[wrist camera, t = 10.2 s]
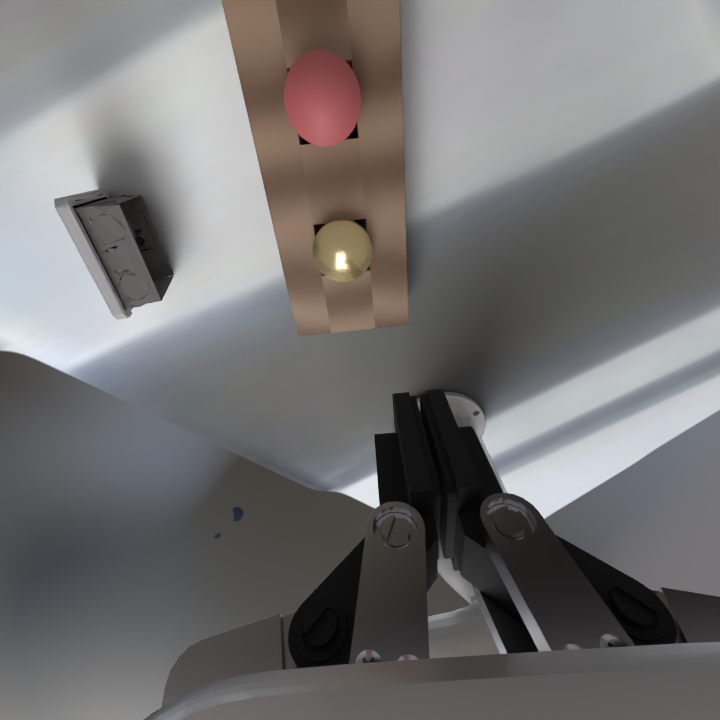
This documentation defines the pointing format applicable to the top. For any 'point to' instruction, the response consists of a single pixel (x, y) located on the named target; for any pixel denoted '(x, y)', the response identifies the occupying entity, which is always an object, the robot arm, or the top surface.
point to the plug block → (329, 153)
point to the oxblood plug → (322, 98)
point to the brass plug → (342, 250)
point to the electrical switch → (117, 248)
